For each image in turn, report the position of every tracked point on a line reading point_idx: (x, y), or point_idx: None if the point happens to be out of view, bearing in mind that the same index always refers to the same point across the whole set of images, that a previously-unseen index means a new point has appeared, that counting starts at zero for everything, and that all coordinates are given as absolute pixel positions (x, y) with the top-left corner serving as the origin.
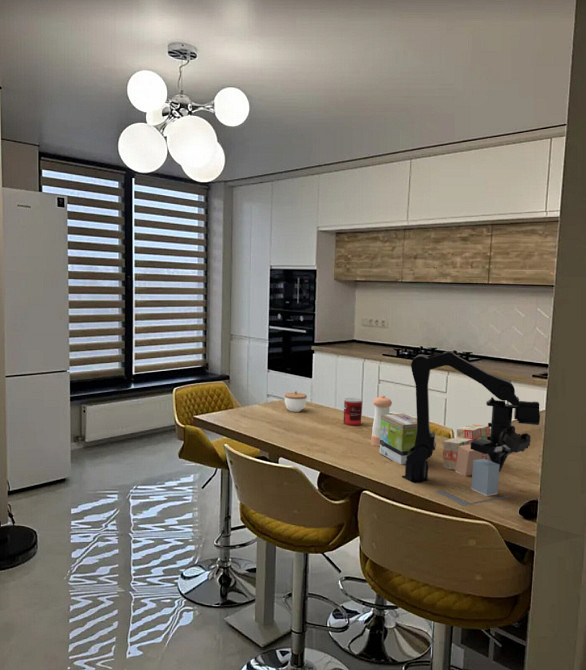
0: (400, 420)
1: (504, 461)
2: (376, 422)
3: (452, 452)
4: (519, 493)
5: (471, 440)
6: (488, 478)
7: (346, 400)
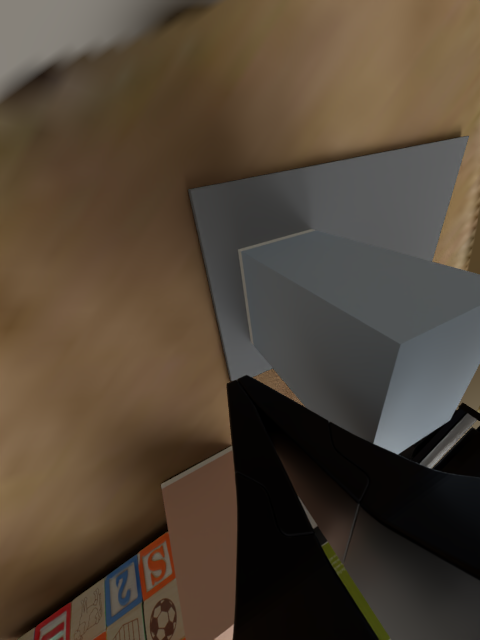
0: None
1: (240, 477)
2: None
3: None
4: (50, 268)
5: None
6: (392, 254)
7: None
